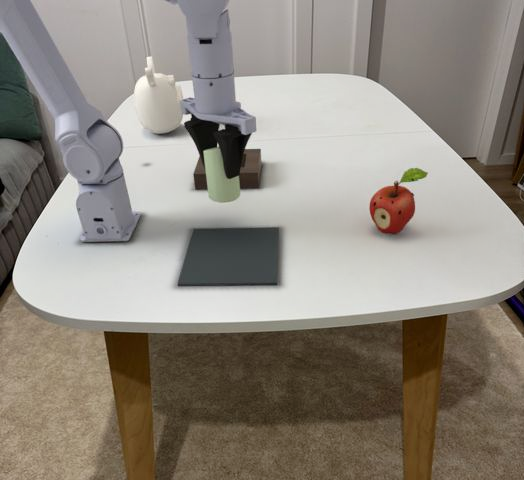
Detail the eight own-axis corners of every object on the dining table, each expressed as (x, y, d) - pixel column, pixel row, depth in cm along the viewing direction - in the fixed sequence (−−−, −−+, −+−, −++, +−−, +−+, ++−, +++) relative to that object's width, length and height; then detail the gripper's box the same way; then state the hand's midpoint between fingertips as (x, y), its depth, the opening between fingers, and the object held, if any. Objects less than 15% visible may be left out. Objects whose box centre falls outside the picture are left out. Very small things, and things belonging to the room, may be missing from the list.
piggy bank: (196, 134, 118) (187, 62, 108) (147, 144, 115) (134, 70, 105) (179, 120, 127) (170, 51, 117) (133, 128, 123) (120, 59, 113)
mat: (277, 284, 71) (277, 282, 70) (177, 285, 72) (177, 283, 71) (278, 229, 83) (278, 227, 82) (193, 230, 83) (193, 228, 83)
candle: (204, 192, 81) (198, 140, 76) (234, 187, 83) (230, 135, 77) (214, 205, 78) (208, 151, 72) (244, 199, 79) (241, 145, 74)
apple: (379, 244, 78) (386, 181, 71) (360, 224, 83) (366, 164, 76) (424, 236, 79) (436, 173, 73) (402, 217, 84) (412, 156, 78)
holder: (258, 188, 95) (258, 172, 93) (195, 189, 96) (193, 173, 94) (261, 163, 104) (260, 148, 102) (203, 164, 105) (201, 150, 103)
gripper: (271, 75, 66) (273, 176, 75) (202, 60, 75) (212, 153, 84) (230, 87, 63) (238, 191, 72) (163, 69, 71) (177, 165, 80)
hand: (222, 172), depth 78 cm, fingers closed on candle, 5 cm apart
